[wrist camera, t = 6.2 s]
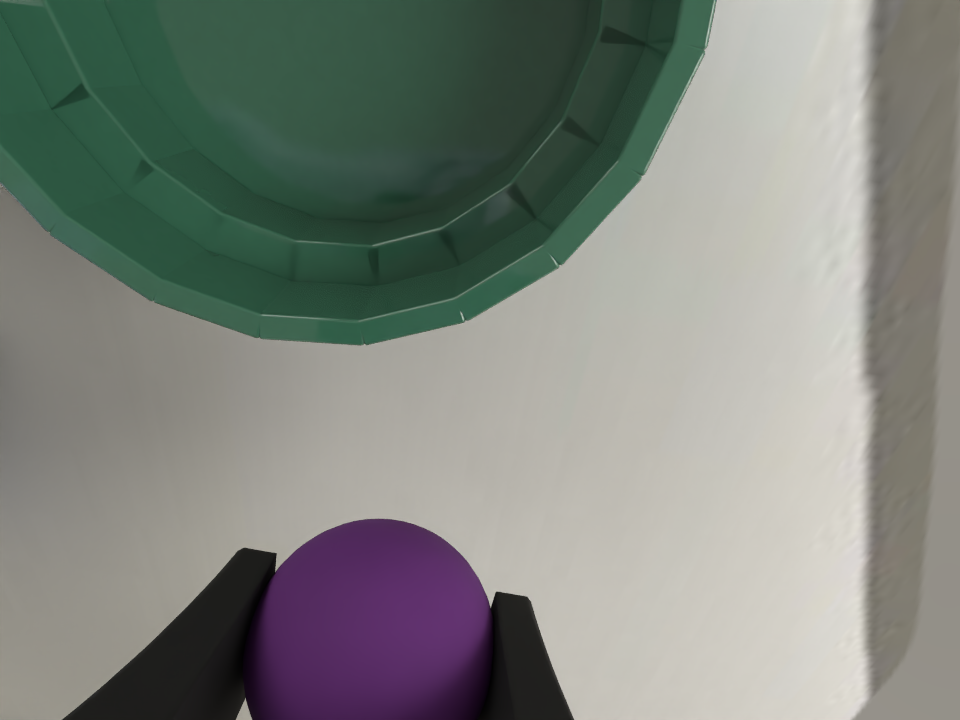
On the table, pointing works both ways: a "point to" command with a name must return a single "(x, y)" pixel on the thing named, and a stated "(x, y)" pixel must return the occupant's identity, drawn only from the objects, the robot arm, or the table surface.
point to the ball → (370, 630)
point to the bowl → (335, 146)
